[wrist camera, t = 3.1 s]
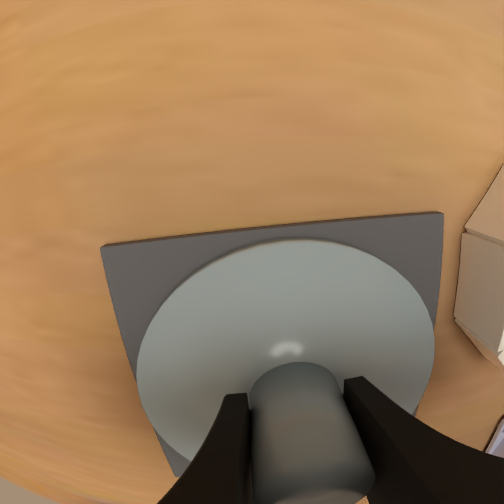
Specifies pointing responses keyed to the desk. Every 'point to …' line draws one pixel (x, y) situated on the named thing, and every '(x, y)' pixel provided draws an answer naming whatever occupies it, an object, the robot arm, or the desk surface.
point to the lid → (286, 360)
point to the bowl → (484, 276)
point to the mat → (220, 242)
